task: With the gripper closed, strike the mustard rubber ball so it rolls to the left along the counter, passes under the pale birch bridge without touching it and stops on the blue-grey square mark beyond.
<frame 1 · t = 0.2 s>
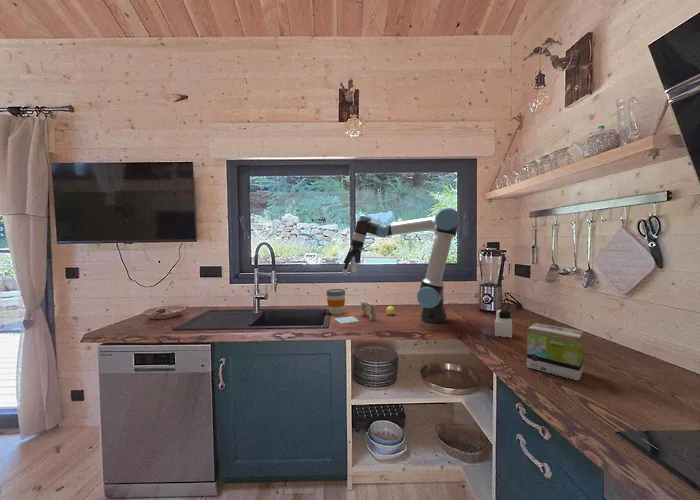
hand: (348, 273, 176), 28 cm above the countertop, tool tilted 20°, fingers open, 13 cm apart
medicine bottle: (503, 335, 139), on the countertop
reusable coffee cup: (336, 313, 190), on the countertop
ball: (390, 310, 182), on the countertop
bridge: (367, 317, 177), on the countertop
tea box: (555, 371, 100), on the countertop
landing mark: (346, 320, 172), on the countertop
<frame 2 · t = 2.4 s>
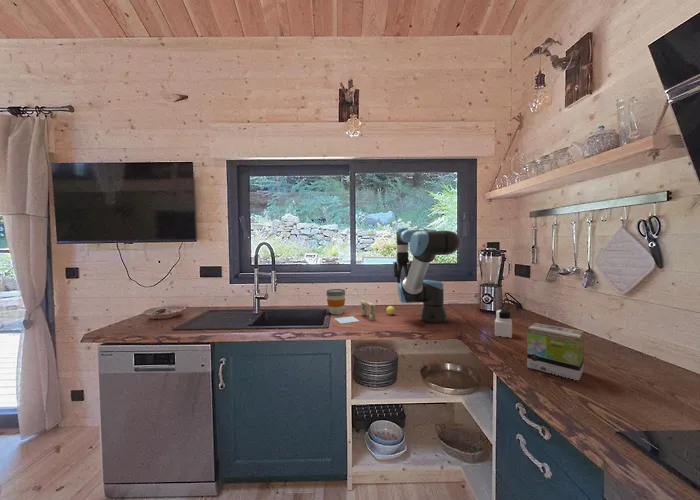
hand: (403, 287, 185), 17 cm above the countertop, tool pointing down, fingers open, 4 cm apart
nothing on the countertop moved.
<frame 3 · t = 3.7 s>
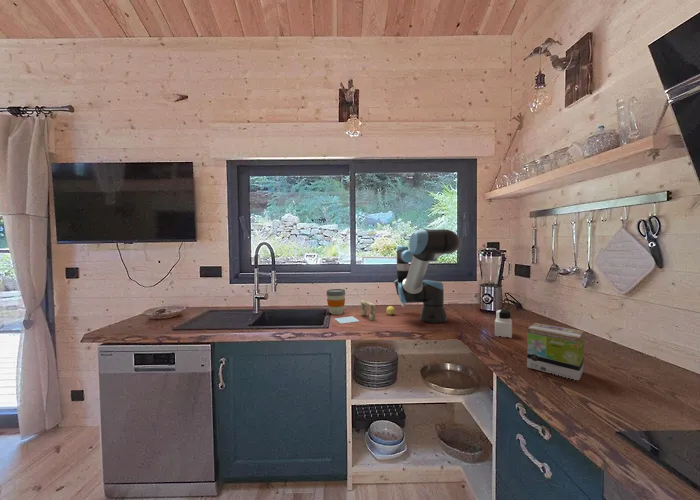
hand: (403, 306, 186), 5 cm above the countertop, tool pointing down, fingers closed
nothing on the countertop moved.
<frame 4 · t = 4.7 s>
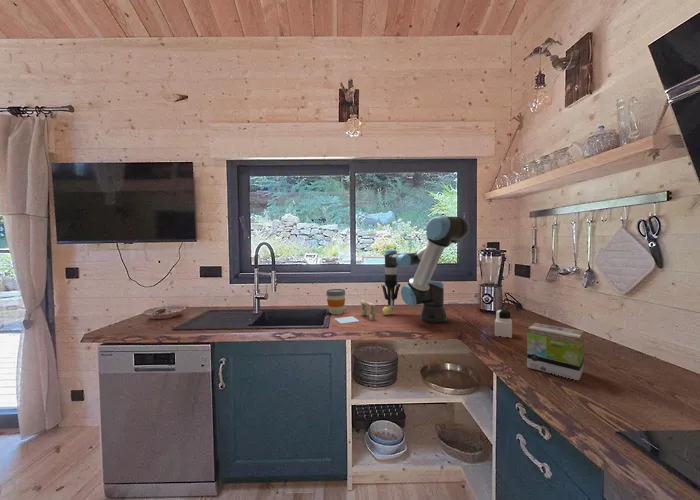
hand: (390, 310, 184), 3 cm above the countertop, tool pointing down, fingers closed
ball: (386, 310, 182), on the countertop
everything else where it was.
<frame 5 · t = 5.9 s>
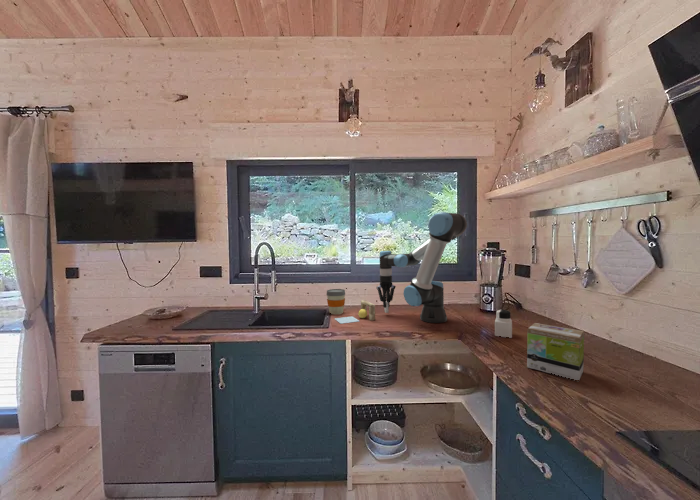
hand: (386, 312, 181), 2 cm above the countertop, tool pointing down, fingers closed
ball: (362, 313, 176), on the countertop
everything else where it was.
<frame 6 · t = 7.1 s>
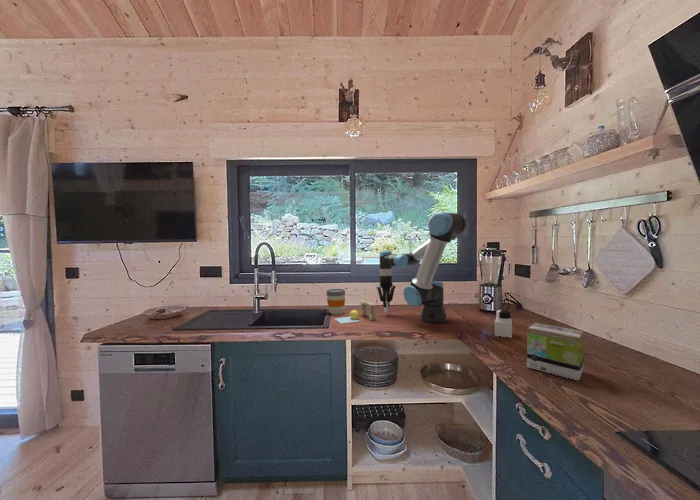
hand: (386, 312, 181), 2 cm above the countertop, tool pointing down, fingers closed
ball: (354, 314, 173), on the countertop
everything else where it was.
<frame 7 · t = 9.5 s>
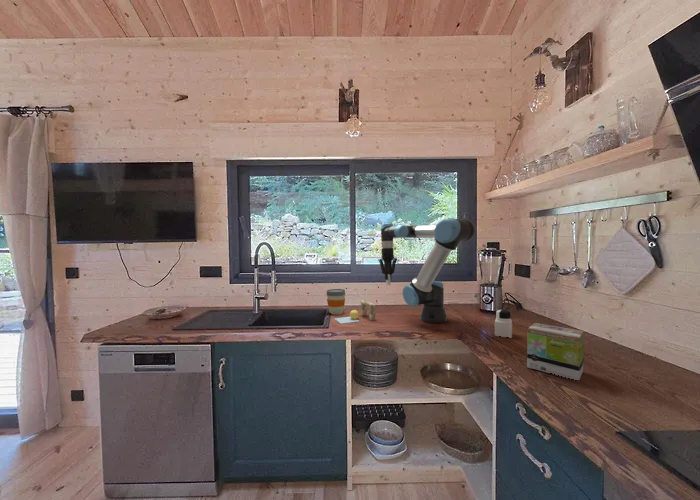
hand: (388, 284, 182), 19 cm above the countertop, tool pointing down, fingers closed
nothing on the countertop moved.
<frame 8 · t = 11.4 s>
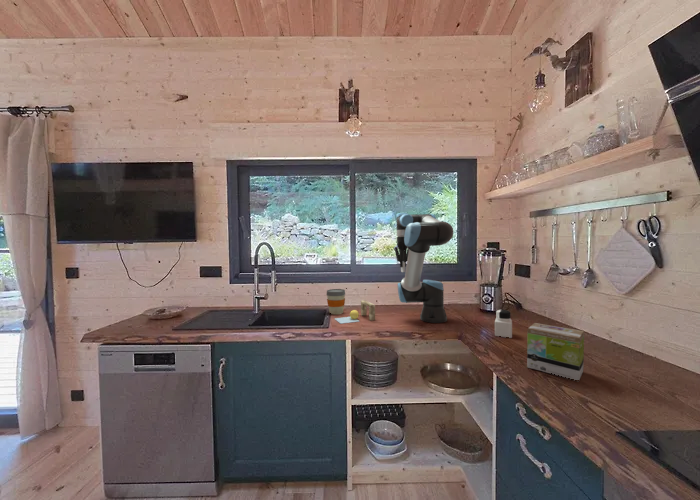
hand: (403, 271, 190), 26 cm above the countertop, tool pointing down, fingers closed
nothing on the countertop moved.
at the end: ball 5.0 cm from the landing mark (horizontally); ball never touched bridge; ball at rest at the end (0.0 cm/s) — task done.
